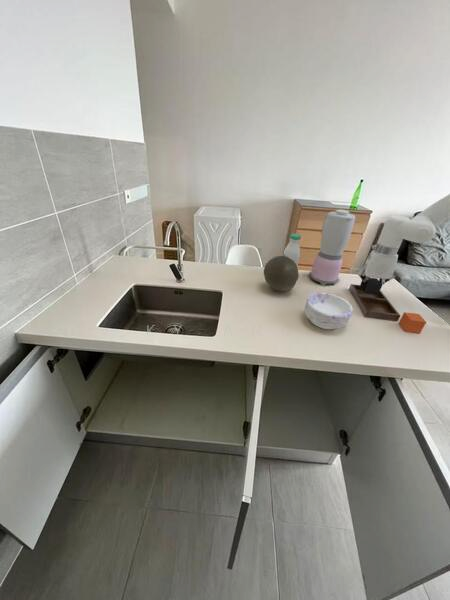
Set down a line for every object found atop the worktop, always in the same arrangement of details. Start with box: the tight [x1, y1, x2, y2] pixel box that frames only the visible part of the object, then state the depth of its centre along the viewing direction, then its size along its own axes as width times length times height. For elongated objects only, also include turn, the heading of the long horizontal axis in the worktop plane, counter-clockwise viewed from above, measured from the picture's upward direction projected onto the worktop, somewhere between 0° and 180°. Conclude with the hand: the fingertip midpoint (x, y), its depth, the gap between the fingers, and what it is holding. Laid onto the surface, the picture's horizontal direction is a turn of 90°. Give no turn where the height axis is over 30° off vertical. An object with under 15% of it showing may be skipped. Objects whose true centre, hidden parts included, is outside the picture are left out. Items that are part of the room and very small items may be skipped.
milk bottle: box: [282, 233, 302, 268], centre depth 115 cm, size 8×8×20 cm
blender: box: [309, 209, 356, 287], centre depth 110 cm, size 16×12×32 cm
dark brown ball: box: [263, 255, 299, 292], centre depth 102 cm, size 14×14×15 cm
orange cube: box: [398, 311, 427, 334], centre depth 85 cm, size 5×5×5 cm
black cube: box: [364, 277, 382, 294], centre depth 102 cm, size 5×5×5 cm
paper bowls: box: [303, 292, 354, 330], centre depth 86 cm, size 15×15×8 cm
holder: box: [348, 283, 401, 322], centre depth 100 cm, size 12×22×3 cm, turn 171°
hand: (369, 289), depth 103 cm, fingers closed on black cube, 5 cm apart
